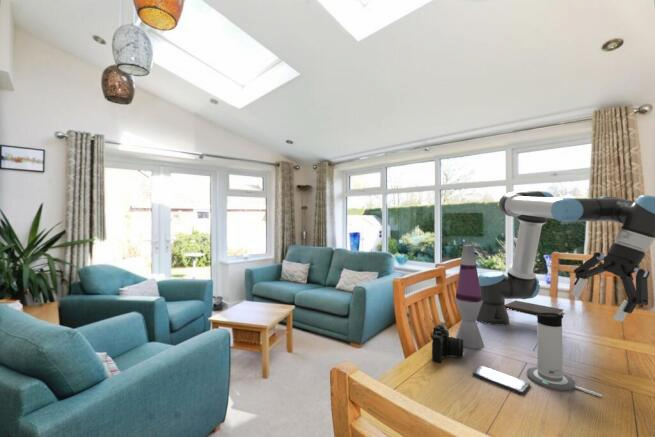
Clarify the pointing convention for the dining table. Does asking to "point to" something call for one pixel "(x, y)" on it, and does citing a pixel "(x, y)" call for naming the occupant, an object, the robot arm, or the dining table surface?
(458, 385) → the dining table surface
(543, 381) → the charging pad
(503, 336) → the dining table surface
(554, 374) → the travel mug
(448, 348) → the camera
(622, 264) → the robot arm
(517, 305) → the hardcover book
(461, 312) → the lamp
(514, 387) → the phone
